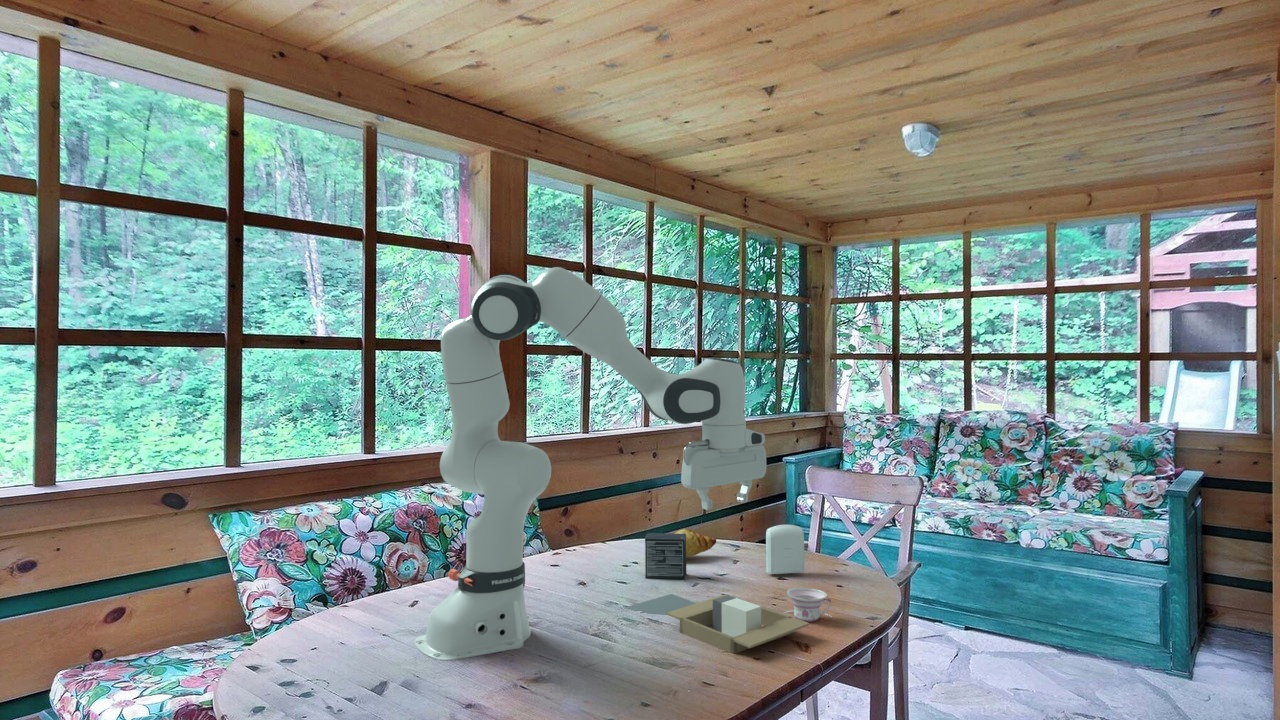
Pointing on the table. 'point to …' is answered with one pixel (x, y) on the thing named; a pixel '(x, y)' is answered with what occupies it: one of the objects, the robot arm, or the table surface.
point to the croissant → (696, 542)
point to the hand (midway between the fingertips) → (725, 505)
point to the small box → (665, 556)
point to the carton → (701, 616)
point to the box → (735, 616)
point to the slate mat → (661, 605)
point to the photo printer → (784, 549)
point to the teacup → (807, 603)
